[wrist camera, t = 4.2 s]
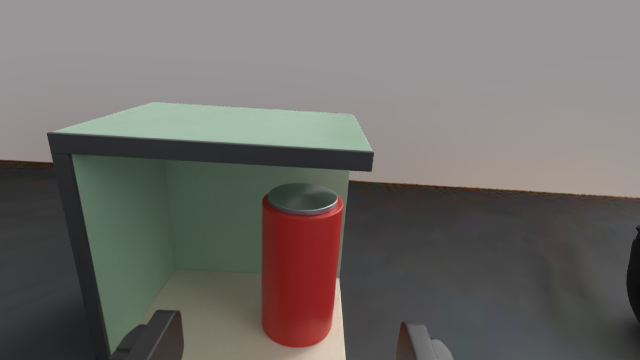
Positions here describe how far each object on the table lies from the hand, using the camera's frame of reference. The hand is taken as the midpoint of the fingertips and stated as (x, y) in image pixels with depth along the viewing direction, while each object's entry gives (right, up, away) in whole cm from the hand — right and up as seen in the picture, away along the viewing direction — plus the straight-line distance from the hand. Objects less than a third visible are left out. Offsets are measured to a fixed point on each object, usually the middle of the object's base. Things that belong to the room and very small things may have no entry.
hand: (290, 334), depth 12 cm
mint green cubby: (-5, -5, +15) cm, 17 cm away
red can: (-1, -5, +14) cm, 15 cm away
